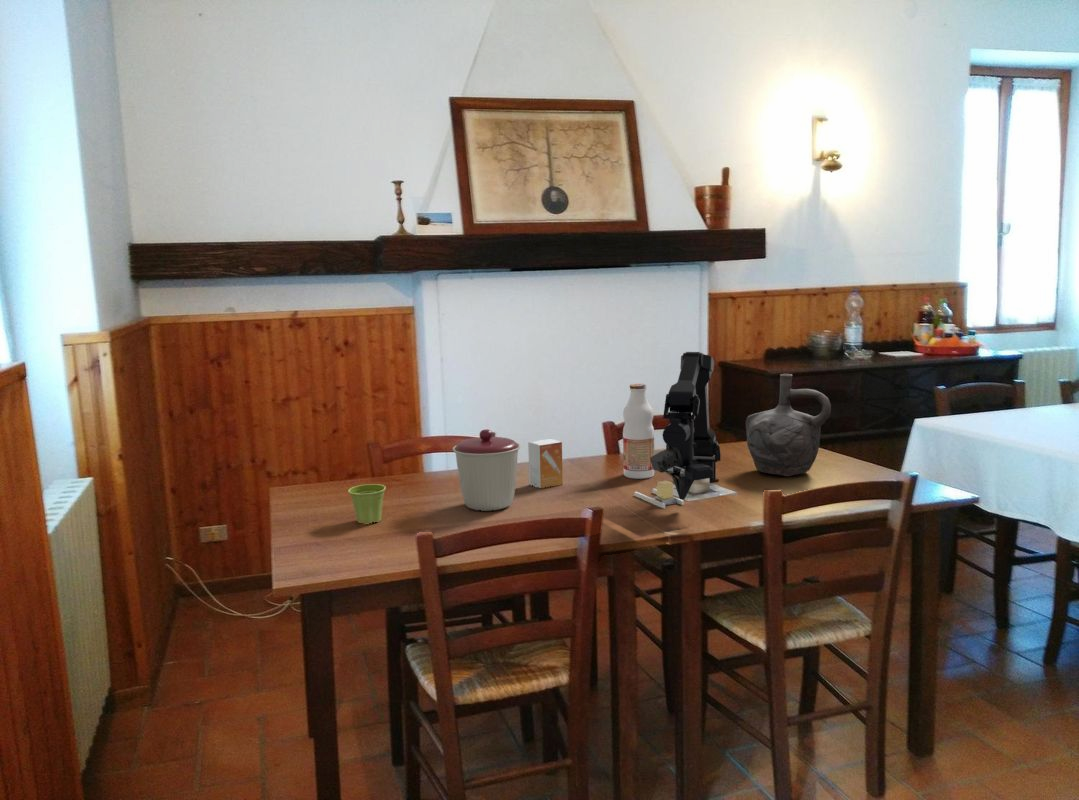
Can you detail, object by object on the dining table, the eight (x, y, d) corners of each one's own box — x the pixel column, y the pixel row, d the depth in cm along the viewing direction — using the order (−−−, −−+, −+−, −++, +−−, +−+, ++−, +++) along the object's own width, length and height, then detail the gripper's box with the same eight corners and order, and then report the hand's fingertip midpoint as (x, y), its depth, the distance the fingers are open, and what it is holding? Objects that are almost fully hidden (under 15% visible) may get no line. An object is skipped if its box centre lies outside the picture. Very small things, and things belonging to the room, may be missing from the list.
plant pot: (380, 527, 207) (377, 493, 205) (344, 526, 208) (342, 493, 207) (392, 516, 216) (391, 484, 214) (358, 515, 217) (356, 483, 216)
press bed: (701, 483, 239) (701, 479, 239) (736, 496, 224) (737, 492, 224) (654, 491, 232) (654, 487, 232) (688, 505, 218) (688, 500, 218)
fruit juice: (637, 481, 244) (636, 387, 240) (617, 475, 252) (615, 384, 248) (661, 475, 250) (660, 384, 245) (640, 470, 257) (639, 381, 253)
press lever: (667, 499, 220) (667, 479, 219) (676, 503, 216) (676, 483, 215) (653, 502, 218) (653, 481, 217) (662, 505, 214) (662, 485, 213)
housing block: (696, 485, 232) (696, 465, 231) (709, 490, 226) (709, 469, 225) (681, 488, 230) (681, 467, 229) (694, 493, 224) (694, 471, 223)
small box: (540, 489, 238) (539, 445, 236) (528, 484, 244) (527, 441, 241) (563, 484, 243) (562, 441, 241) (551, 480, 248) (550, 438, 246)
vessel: (828, 466, 255) (830, 370, 250) (829, 484, 234) (832, 379, 230) (747, 463, 262) (748, 369, 258) (742, 480, 242) (743, 378, 237)
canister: (517, 494, 233) (514, 421, 230) (527, 512, 215) (524, 433, 212) (453, 499, 230) (449, 425, 227) (458, 518, 212) (454, 438, 209)
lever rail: (654, 496, 227) (654, 488, 227) (684, 508, 215) (684, 500, 214) (634, 499, 225) (634, 491, 224) (663, 512, 212) (663, 504, 212)
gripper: (634, 436, 212) (635, 495, 215) (676, 449, 195) (676, 513, 198) (671, 431, 217) (671, 489, 219) (714, 444, 200) (714, 506, 202)
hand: (682, 499), depth 210 cm, fingers closed
